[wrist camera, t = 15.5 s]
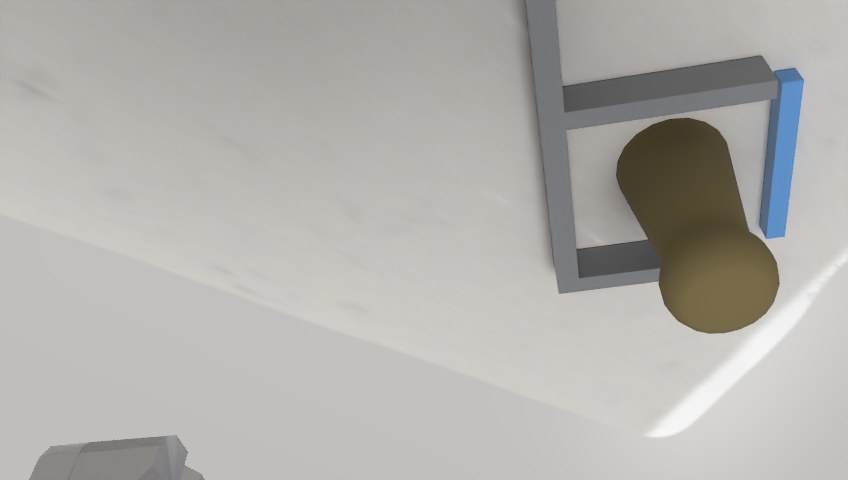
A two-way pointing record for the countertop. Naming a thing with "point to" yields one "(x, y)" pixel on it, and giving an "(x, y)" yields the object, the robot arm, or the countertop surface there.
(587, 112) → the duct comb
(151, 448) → the robot arm
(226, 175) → the countertop surface
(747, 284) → the cork
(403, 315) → the countertop surface
